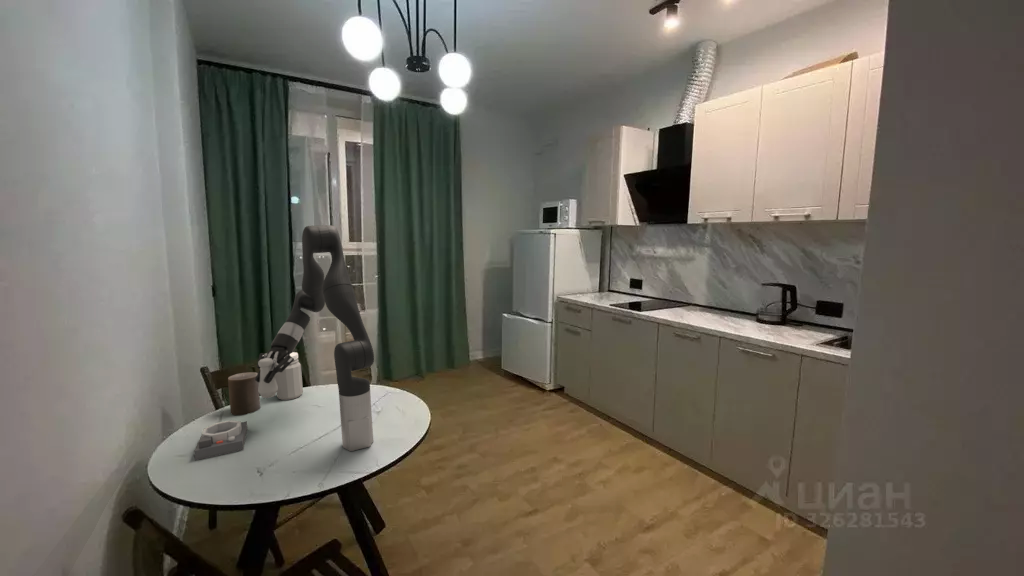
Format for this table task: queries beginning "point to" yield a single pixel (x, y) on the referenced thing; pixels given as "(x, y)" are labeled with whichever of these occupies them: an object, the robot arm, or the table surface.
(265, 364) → the salt shaker
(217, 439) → the octagon ring base
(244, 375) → the pillar candle
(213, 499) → the table surface
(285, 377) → the jar
